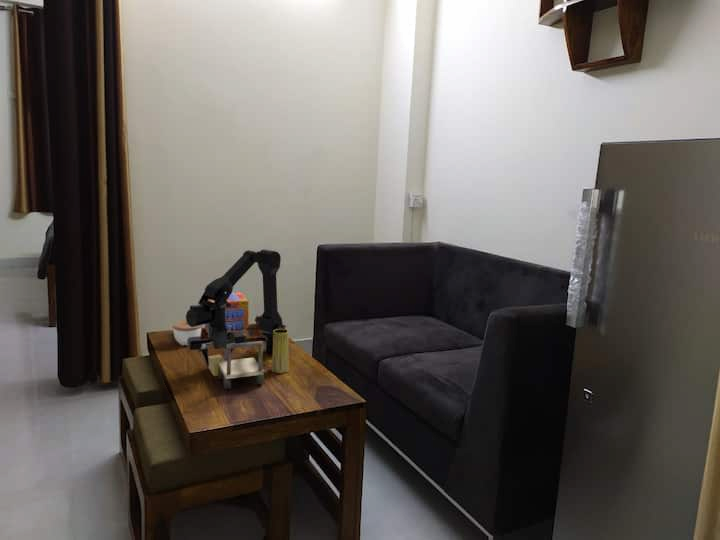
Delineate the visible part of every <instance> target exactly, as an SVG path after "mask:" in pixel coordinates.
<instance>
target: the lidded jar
mask: <svg viewBox="0 0 720 540" xmlns="http://www.w3.org/2000/svg"><path fill="white" fill-rule="evenodd" d="M202 326H203V325H200V326H196V327H190V326H189V325H188V323H187V321H186V320H181V321H177V322H174V323H173V324H172V330H173V336H174V338H175V339H174V340H175V341H176V342H177V343H179V345H181V346H184V345H186V346H187V347H188V345H187V339H188V338H189V337H198V336H199V337H200V338H201V335H202ZM186 346H185V347H186Z"/></svg>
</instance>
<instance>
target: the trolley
mask: <svg viewBox="0 0 720 540" xmlns="http://www.w3.org/2000/svg"><path fill="white" fill-rule="evenodd" d="M263 345H264V340H259V341H248V342H247V341H246V343H237V344H227V345H226V348H227V361H218V366H219V367H218V376H217V378H218V379H219V380H221V379H222V380H223V381H222V382H223V388H224V390H230V389H231V388H232V380H231V379H237V378H245V377H246V378H247V377H253V376H255V383H256V385H258V386H259V385H264V383H265V380H264V379H265V378H264V375H265V370H264V369H263ZM251 347H258V351H257V353H258V357H257V359H258V362H257V360H256V358H254V357H248V358H247V357H246V358H237V359H232V353H231V349H233V348H234V349H241V348H251ZM226 348H225V349H226ZM234 349H233V350H234Z"/></svg>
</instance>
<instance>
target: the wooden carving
mask: <svg viewBox="0 0 720 540" xmlns="http://www.w3.org/2000/svg"><path fill="white" fill-rule="evenodd" d="M259 316H262V314H260V315H256V316H255V319H254V321H255V323H256V324H248V326H247V327H246V329H247V330H248V336H249V337H250V338H255V337H259V338H263V339H266V336H264V335H263V333H262V331H261V330H260V327H258V326H259V319H258V318H259ZM283 327H284V328H285V329H286V328H287V324H283Z"/></svg>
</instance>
